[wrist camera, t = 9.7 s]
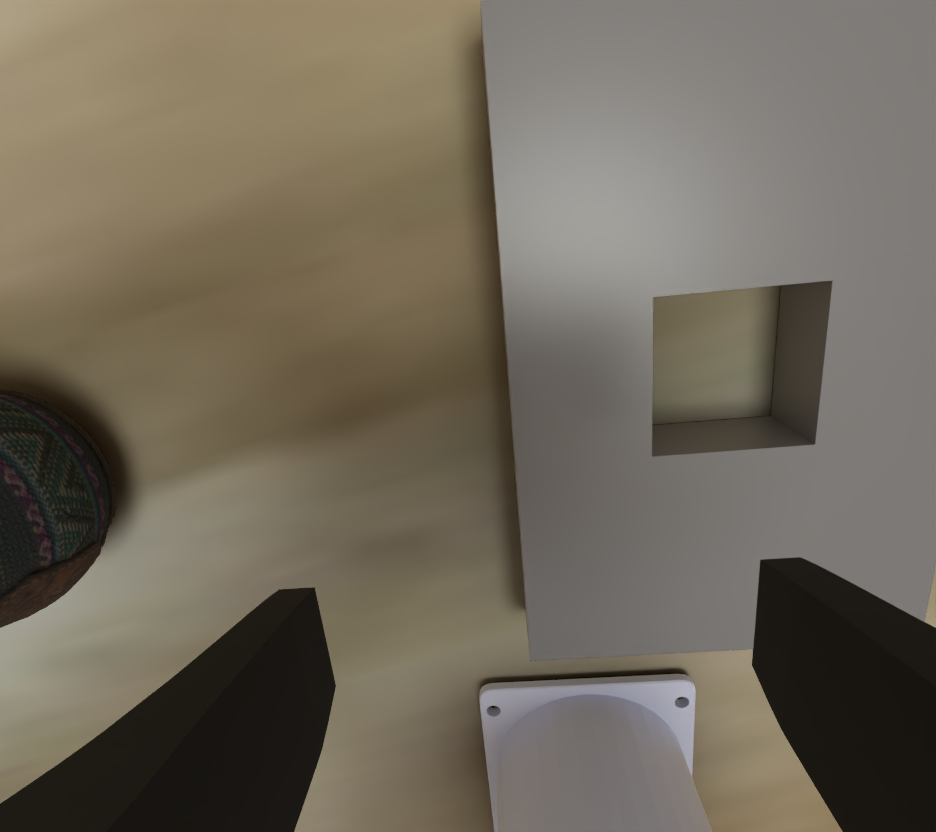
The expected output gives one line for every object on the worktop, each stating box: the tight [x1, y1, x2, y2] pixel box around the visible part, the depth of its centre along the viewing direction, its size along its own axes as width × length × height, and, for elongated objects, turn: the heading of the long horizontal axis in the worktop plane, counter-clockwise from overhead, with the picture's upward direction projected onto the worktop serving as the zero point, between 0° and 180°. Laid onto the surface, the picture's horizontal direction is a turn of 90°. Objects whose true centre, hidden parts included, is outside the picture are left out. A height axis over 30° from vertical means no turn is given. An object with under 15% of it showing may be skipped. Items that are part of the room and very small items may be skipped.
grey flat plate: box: [481, 0, 936, 661], centre depth 16 cm, size 18×12×2 cm, turn 6°
